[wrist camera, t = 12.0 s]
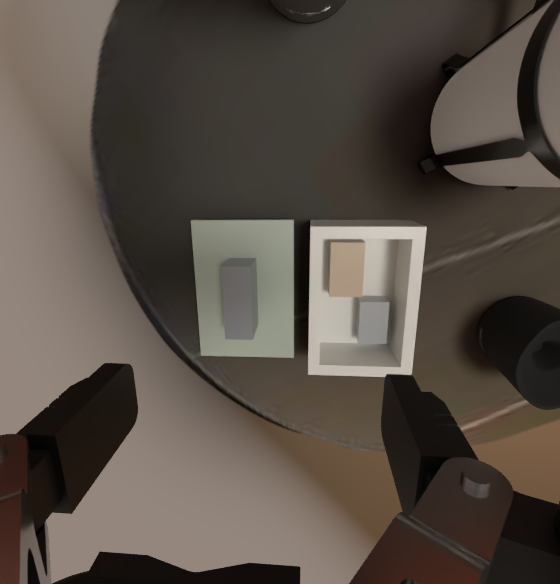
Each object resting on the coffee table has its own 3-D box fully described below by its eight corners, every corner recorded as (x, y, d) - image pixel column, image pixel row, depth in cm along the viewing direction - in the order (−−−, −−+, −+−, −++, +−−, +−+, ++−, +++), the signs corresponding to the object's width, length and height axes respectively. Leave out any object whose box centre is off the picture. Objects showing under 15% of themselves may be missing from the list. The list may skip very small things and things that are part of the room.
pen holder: (503, 278, 43) (557, 305, 34) (572, 313, 44) (645, 350, 34) (457, 344, 46) (495, 387, 36) (522, 377, 47) (578, 427, 37)
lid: (196, 218, 44) (176, 224, 37) (294, 218, 43) (291, 224, 36) (205, 347, 48) (190, 373, 42) (294, 349, 47) (292, 376, 41)
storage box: (310, 219, 43) (310, 226, 36) (408, 219, 42) (426, 226, 36) (308, 347, 48) (308, 374, 41) (396, 349, 47) (411, 377, 40)
